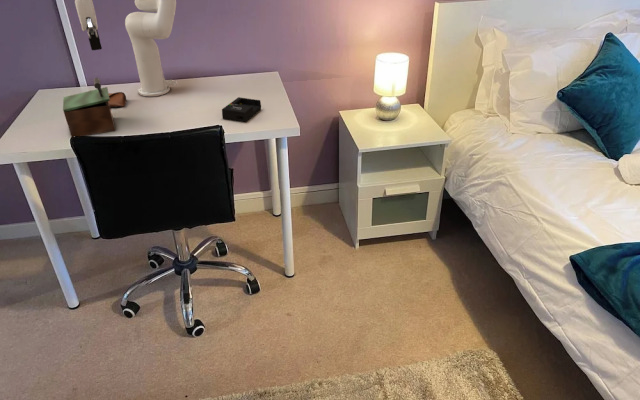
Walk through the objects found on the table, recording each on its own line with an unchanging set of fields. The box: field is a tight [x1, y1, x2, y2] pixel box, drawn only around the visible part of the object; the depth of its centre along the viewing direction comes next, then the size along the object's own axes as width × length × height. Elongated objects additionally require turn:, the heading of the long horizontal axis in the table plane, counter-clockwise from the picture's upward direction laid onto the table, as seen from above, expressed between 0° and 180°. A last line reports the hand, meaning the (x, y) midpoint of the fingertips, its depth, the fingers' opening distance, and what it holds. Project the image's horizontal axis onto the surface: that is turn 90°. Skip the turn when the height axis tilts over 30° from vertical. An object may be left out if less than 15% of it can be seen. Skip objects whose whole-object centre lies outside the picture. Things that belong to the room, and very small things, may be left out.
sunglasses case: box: [108, 91, 127, 109], centre depth 189 cm, size 18×7×7 cm, turn 105°
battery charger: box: [221, 96, 262, 124], centre depth 180 cm, size 13×10×4 cm
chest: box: [63, 101, 116, 138], centre depth 170 cm, size 14×13×9 cm
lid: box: [62, 77, 110, 113], centre depth 166 cm, size 15×13×6 cm
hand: (96, 45), depth 165 cm, fingers open, 9 cm apart
